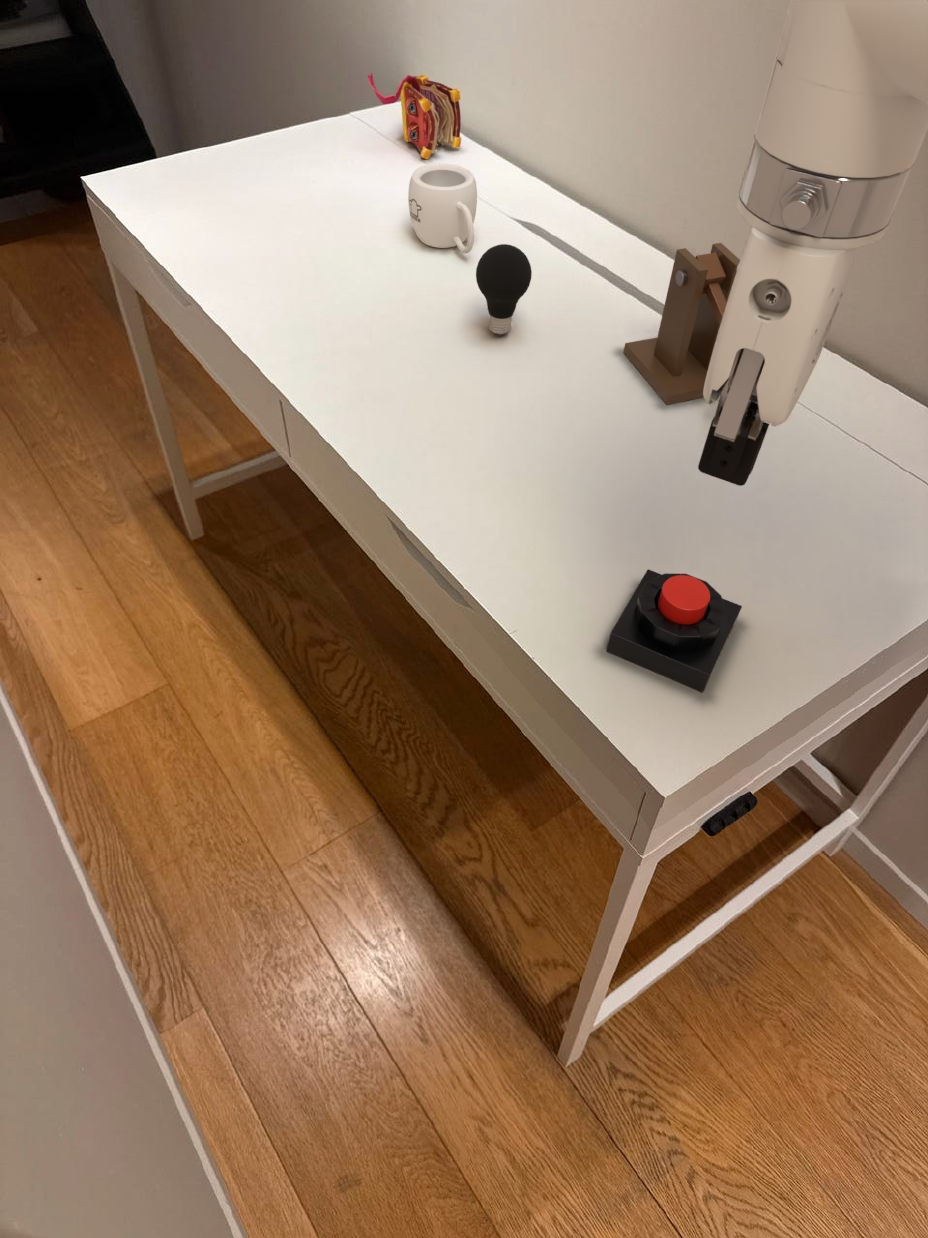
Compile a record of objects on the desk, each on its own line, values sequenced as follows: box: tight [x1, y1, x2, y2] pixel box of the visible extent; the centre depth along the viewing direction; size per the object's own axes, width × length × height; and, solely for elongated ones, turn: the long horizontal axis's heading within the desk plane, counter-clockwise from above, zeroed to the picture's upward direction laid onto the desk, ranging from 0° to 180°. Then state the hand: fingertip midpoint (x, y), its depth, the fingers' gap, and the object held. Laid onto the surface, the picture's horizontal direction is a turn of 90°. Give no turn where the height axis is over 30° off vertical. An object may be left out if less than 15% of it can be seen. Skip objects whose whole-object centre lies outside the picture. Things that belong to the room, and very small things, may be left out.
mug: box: [407, 162, 478, 254], centre depth 109 cm, size 12×8×8 cm
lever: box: [694, 252, 727, 326], centre depth 85 cm, size 14×5×2 cm, turn 20°
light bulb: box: [475, 243, 533, 337], centre depth 95 cm, size 6×6×10 cm
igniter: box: [605, 568, 743, 693], centre depth 69 cm, size 8×8×4 cm
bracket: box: [623, 242, 741, 405], centre depth 90 cm, size 10×9×13 cm
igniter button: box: [658, 575, 710, 625], centre depth 67 cm, size 4×4×2 cm
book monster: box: [367, 72, 462, 160], centre depth 127 cm, size 11×9×12 cm
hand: (724, 471), depth 58 cm, fingers closed
